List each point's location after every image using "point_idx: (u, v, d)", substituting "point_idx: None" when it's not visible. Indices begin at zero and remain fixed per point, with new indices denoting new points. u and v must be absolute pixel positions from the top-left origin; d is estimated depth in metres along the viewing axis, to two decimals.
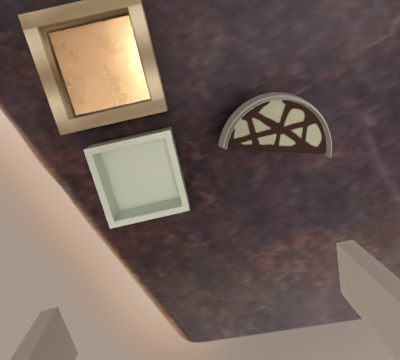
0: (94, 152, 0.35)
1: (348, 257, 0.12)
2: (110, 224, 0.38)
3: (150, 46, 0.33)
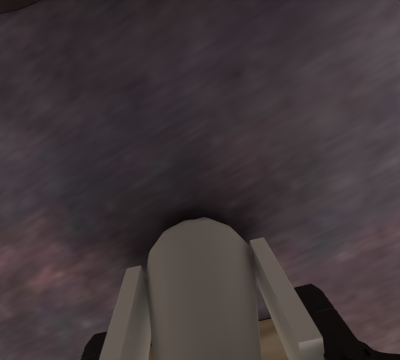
0: None
1: (254, 252, 0.14)
2: None
3: None
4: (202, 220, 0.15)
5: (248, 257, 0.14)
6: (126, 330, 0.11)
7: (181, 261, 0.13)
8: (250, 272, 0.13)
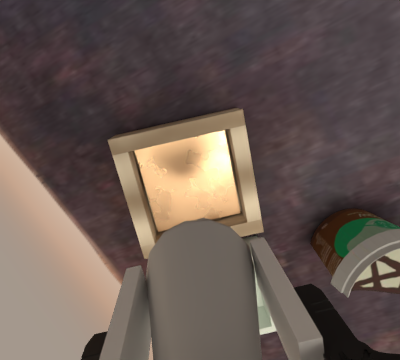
0: None
1: (254, 252, 0.14)
2: None
3: (251, 168, 0.29)
4: (202, 221, 0.15)
5: (248, 258, 0.14)
6: (126, 330, 0.11)
7: (181, 261, 0.13)
8: (250, 273, 0.13)
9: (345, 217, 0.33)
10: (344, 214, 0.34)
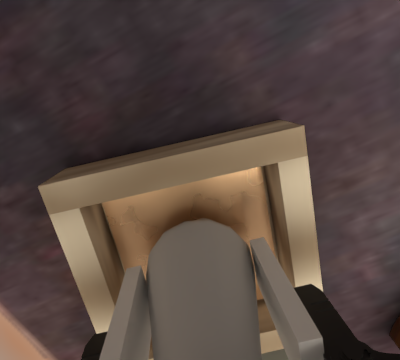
0: None
1: (254, 252, 0.14)
2: None
3: (313, 233, 0.16)
4: (202, 221, 0.15)
5: (248, 258, 0.14)
6: (126, 330, 0.11)
7: (181, 262, 0.13)
8: (250, 273, 0.13)
9: None
10: None
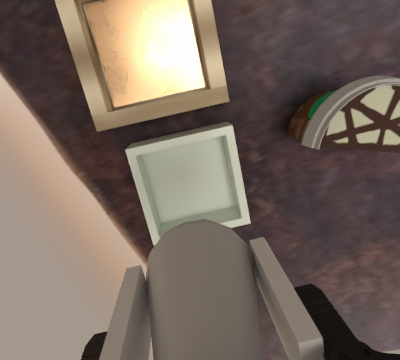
0: (138, 153, 0.28)
1: (254, 252, 0.14)
2: (154, 240, 0.31)
3: (213, 19, 0.26)
4: (202, 221, 0.15)
5: (248, 259, 0.14)
6: (126, 330, 0.11)
7: (181, 262, 0.13)
8: (251, 274, 0.13)
9: (322, 94, 0.30)
10: (322, 93, 0.31)
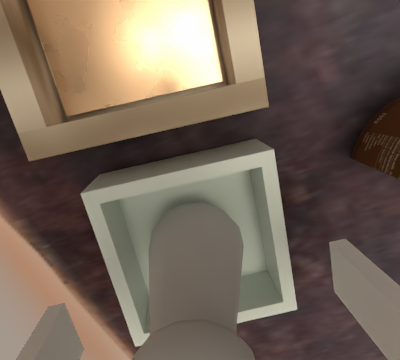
0: (105, 199, 0.16)
1: (340, 256, 0.13)
2: (136, 339, 0.19)
3: None
4: (198, 203, 0.18)
5: (237, 235, 0.17)
6: None
7: (176, 233, 0.15)
8: (236, 246, 0.16)
9: None
10: None
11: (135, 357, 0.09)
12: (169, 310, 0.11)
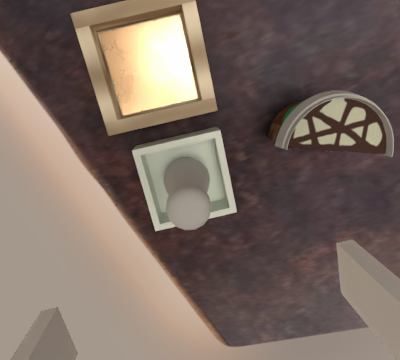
0: (142, 153, 0.34)
1: (348, 257, 0.12)
2: (156, 226, 0.37)
3: (203, 44, 0.32)
4: (187, 157, 0.36)
5: (206, 171, 0.35)
6: None
7: (178, 168, 0.34)
8: (205, 174, 0.34)
9: (295, 103, 0.36)
10: (296, 103, 0.37)
11: (168, 196, 0.28)
12: (178, 187, 0.29)
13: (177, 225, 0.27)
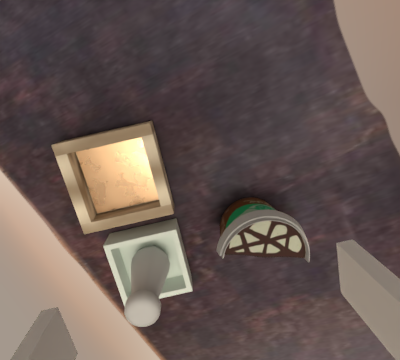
0: (112, 248, 0.42)
1: (348, 257, 0.12)
2: (125, 303, 0.45)
3: (160, 165, 0.39)
4: (150, 247, 0.44)
5: (165, 260, 0.43)
6: None
7: (141, 261, 0.41)
8: (163, 265, 0.42)
9: (240, 203, 0.44)
10: (241, 201, 0.44)
11: (127, 299, 0.35)
12: (136, 287, 0.37)
13: (133, 324, 0.35)
